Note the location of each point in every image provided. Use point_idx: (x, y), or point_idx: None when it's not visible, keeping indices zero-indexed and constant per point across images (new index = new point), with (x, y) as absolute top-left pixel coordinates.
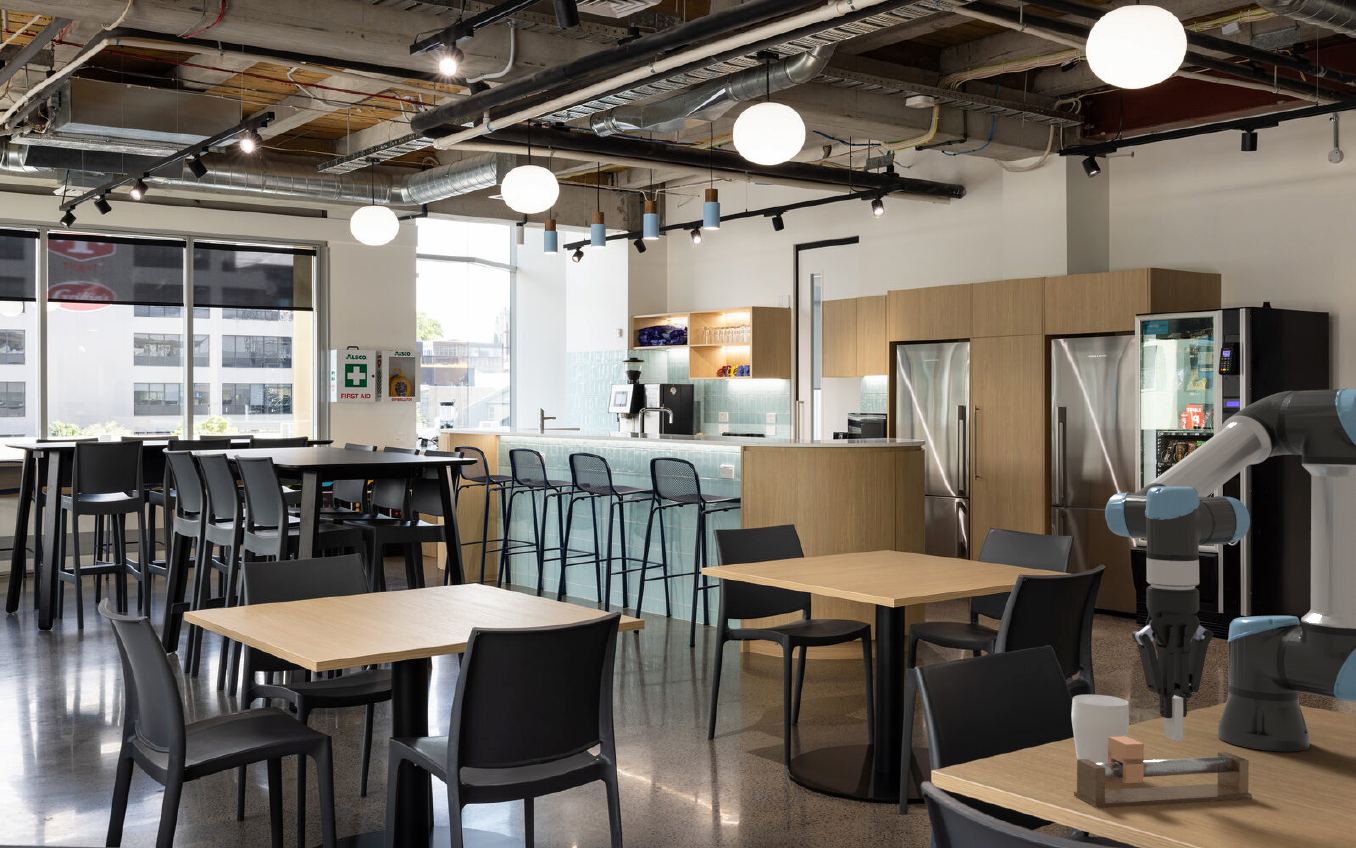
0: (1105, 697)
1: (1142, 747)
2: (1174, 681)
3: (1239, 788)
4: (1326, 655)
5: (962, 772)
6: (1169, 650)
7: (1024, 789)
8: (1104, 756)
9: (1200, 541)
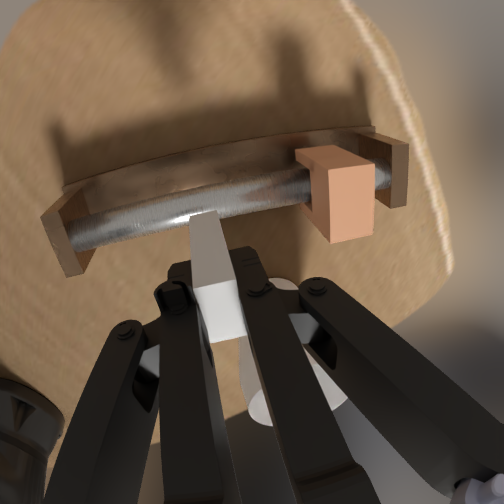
0: (269, 423)
1: (327, 166)
2: (214, 374)
3: (77, 191)
4: None
5: (433, 283)
6: (371, 484)
7: (414, 220)
8: None
9: None
